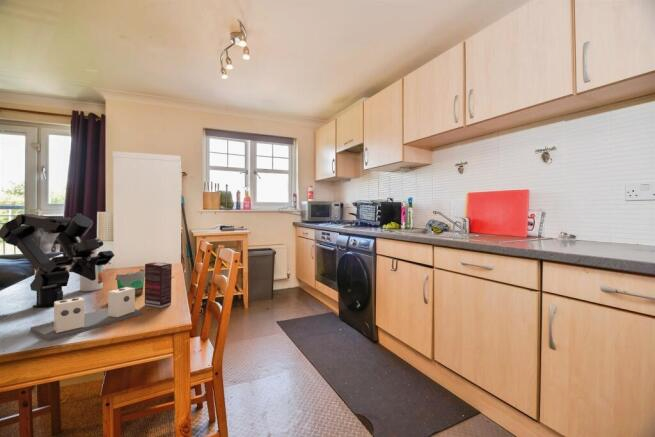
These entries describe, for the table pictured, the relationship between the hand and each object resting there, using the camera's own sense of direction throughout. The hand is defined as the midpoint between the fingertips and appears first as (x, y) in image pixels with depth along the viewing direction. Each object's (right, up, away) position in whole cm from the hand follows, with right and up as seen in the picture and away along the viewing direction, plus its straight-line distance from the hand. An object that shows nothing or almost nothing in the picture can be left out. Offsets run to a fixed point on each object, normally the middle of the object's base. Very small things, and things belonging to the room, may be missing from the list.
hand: (94, 279), depth 98 cm
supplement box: (+17, -12, +9) cm, 23 cm away
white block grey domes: (+6, -11, -16) cm, 20 cm away
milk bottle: (-24, -11, +28) cm, 38 cm away
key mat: (+5, -12, -8) cm, 15 cm away
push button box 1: (+12, -11, -4) cm, 17 cm away
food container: (+1, -11, +20) cm, 23 cm away
